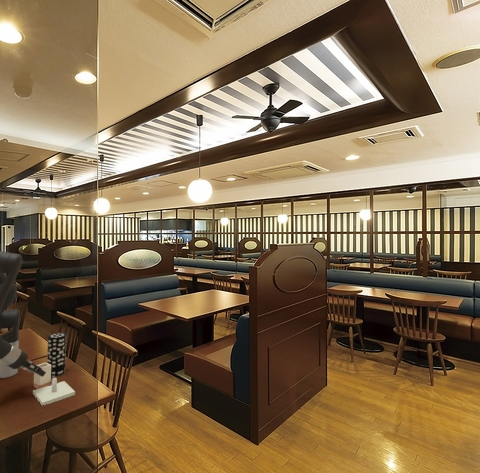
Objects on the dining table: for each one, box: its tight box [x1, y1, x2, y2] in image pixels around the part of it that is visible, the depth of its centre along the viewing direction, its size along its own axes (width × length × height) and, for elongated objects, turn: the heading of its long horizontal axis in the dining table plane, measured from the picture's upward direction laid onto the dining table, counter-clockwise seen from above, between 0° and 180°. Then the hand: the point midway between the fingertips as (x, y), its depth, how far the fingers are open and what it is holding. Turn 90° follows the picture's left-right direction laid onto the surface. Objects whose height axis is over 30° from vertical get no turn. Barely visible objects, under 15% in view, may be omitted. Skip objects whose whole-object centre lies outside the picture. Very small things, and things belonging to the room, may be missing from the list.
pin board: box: [32, 377, 76, 407], centre depth 137 cm, size 14×13×8 cm
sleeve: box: [33, 362, 52, 390], centre depth 144 cm, size 5×5×10 cm
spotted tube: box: [46, 332, 67, 378], centre depth 158 cm, size 8×8×20 cm
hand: (38, 372), depth 143 cm, fingers open, 8 cm apart
